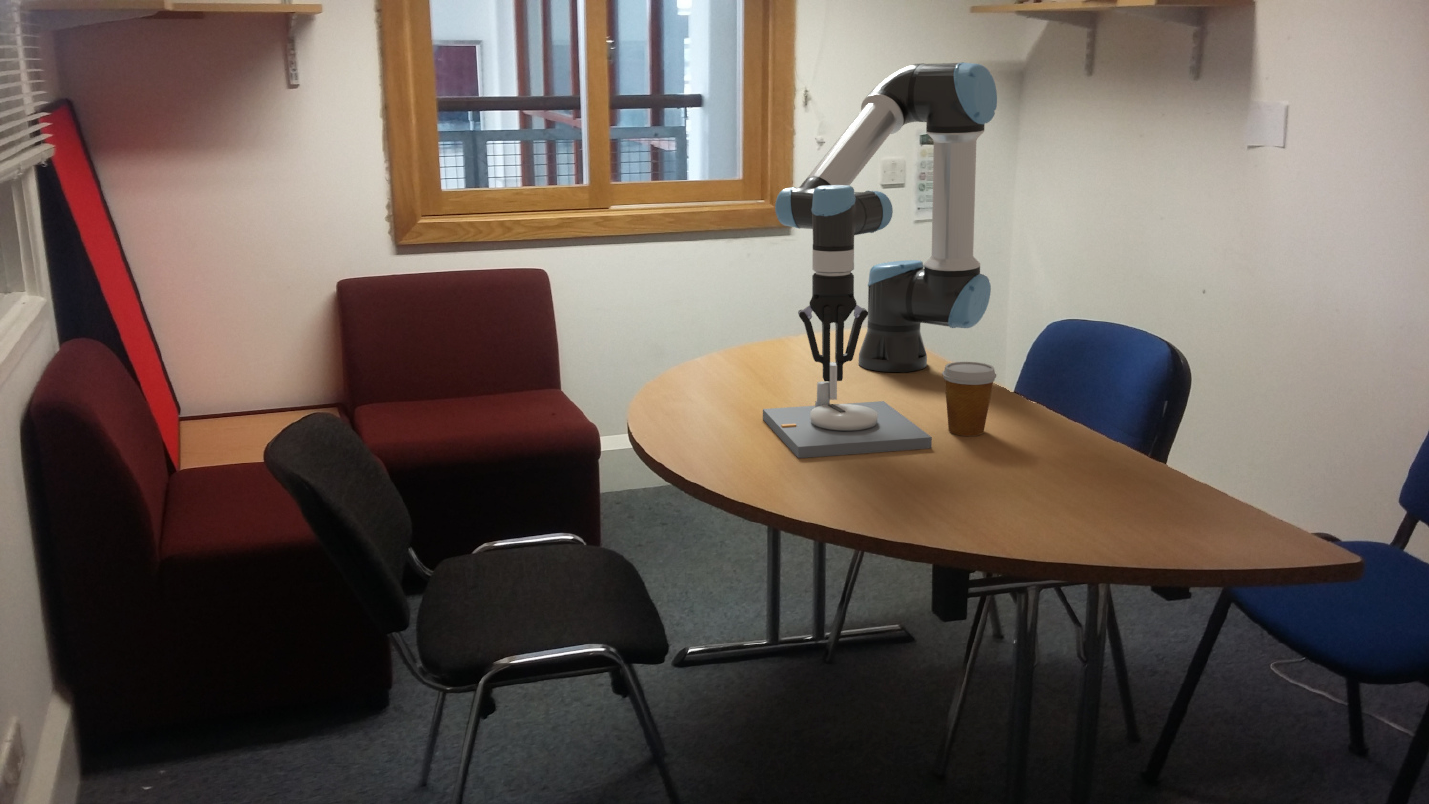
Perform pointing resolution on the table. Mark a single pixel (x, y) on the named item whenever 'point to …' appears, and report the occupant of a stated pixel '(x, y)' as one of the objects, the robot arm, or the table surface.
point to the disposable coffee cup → (968, 396)
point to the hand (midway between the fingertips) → (832, 397)
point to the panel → (845, 432)
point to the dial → (840, 413)
